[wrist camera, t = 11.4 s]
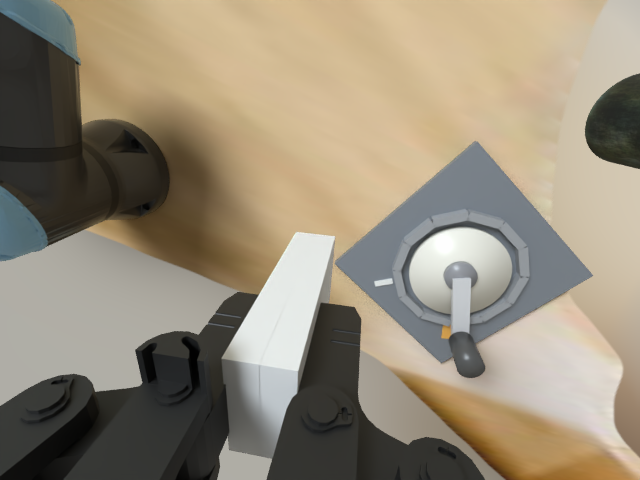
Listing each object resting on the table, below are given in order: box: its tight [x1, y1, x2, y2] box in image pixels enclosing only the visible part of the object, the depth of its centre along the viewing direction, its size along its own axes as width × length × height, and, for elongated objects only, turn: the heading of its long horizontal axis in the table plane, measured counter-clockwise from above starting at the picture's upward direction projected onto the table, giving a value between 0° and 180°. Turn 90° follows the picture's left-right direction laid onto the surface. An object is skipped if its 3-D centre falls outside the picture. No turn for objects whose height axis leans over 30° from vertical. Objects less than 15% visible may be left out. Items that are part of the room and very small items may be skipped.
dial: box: [409, 226, 512, 378], centre depth 44 cm, size 20×14×8 cm
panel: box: [335, 141, 593, 363], centre depth 47 cm, size 26×26×2 cm
